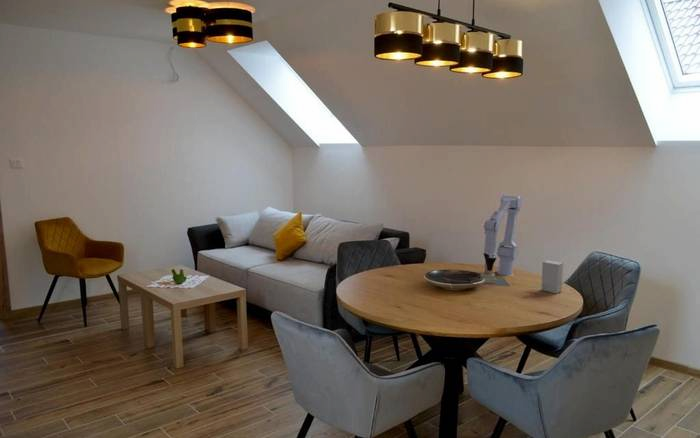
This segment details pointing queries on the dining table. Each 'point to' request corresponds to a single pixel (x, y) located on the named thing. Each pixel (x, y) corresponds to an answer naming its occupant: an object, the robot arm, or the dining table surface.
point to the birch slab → (489, 280)
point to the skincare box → (552, 276)
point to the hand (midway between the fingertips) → (488, 268)
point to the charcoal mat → (498, 282)
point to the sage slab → (488, 276)
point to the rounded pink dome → (487, 270)
